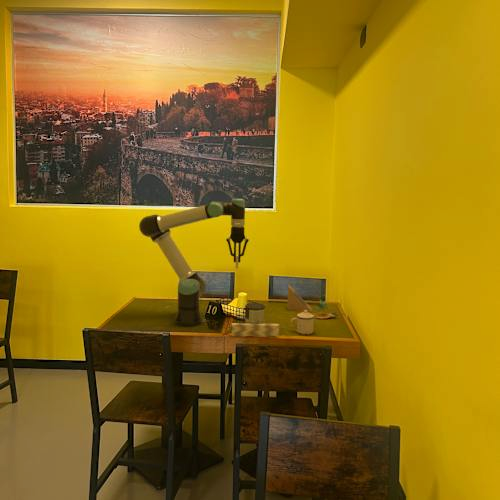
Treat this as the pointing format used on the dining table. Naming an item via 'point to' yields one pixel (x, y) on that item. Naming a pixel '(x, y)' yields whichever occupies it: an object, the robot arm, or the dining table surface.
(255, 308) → the coffee can
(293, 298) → the sandwich container
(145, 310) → the dining table surface
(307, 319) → the teacup with lid
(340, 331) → the dining table surface
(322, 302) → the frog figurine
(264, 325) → the birch board
